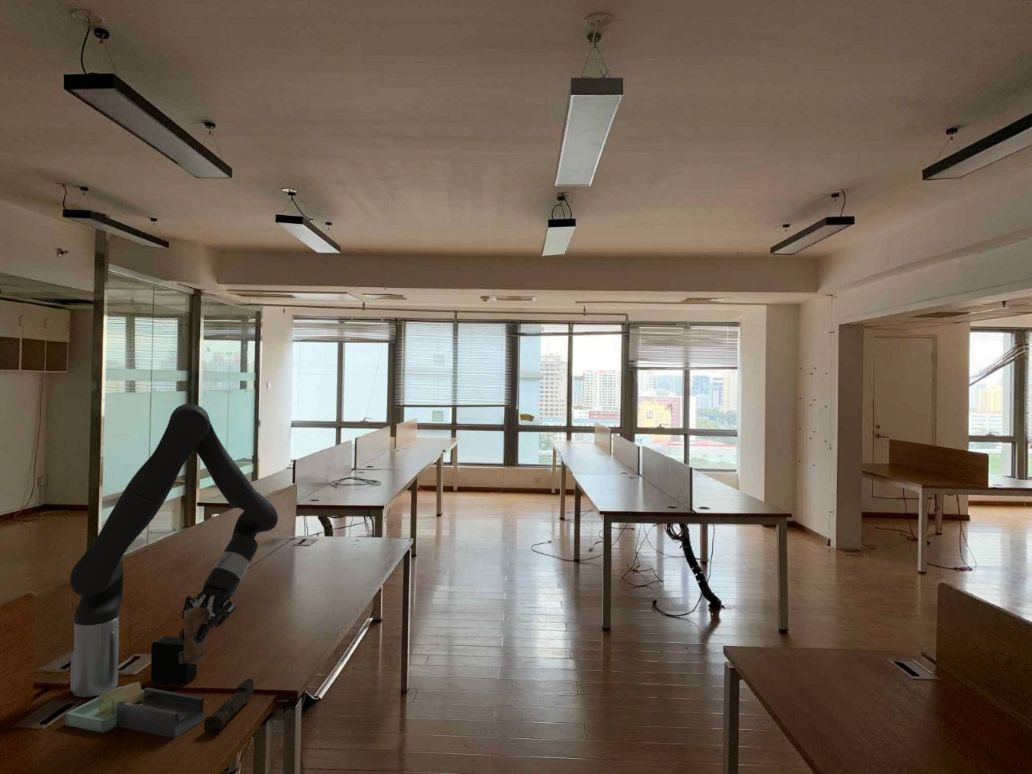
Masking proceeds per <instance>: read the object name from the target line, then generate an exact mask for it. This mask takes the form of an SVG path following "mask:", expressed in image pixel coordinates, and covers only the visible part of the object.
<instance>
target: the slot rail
mask: <svg viewBox="0 0 1032 774" xmlns="http://www.w3.org/2000/svg"><path fill="white" fill-rule="evenodd" d="M142 690H143V697H144V699H143V700H141V701H139V702H137V703H135V704H132V703H127V702H122V701H120V702H118V703H117V713H116V727H117V728H118V727H119V728H124V729H129V730H134V731H138V732H143V733H147V734H151V735H152V734H153V735H157V736H162V737H166V738H172V739H177V738H178V737H179V736H181V735H182V734H184V733H185V732H187V731H189V730H190V729H192V728H194V727H195V726H196V725H198V724H199V723H201V722H202V721H204V703H205V702H204V700H205V699H204V697H203V696H202V697H201V696H197V695H191V694H184V693H180V692H179V693H178V692H173V691H170V690H169V691H167V690H163V689H158V688H153V687H145V688H143V689H142Z"/></svg>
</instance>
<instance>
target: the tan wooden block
mask: <svg viewBox="0 0 1032 774" xmlns="http://www.w3.org/2000/svg"><path fill="white" fill-rule="evenodd" d="M206 612H207V608H202V607H193V608H191V609H189V610H186V611H184V620H183V627H184V651H182V652H180V653H179V663H180V664H182V663H190V664H197V665H198V664H200V663H202V662H203V661H205V660H207V659H208V634H207V635H206V637H205V639H204V640H203V641H202V642H201V643H196V642H195V641H194V640H193V638H194V636H195V635H196V633H197V631H198V630H199V628H200V626H201V624H202V625H203V621H204V618H205V617H206Z"/></svg>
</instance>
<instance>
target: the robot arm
mask: <svg viewBox="0 0 1032 774" xmlns="http://www.w3.org/2000/svg"><path fill="white" fill-rule="evenodd" d="M193 452H195V453H196V455H197V456H198V457H199V458H200V461H202V463H203V465H204V466H205V469H206V470H207V472H208V473H209V476H210V477H211V479H212V481H213V483H214V484H215V486H216V488H217V489H218V490H219V492H220V493H221V494H222V496H223V497H224V499H225V500H226V501H227V503H228V504H229V505H230V506H231V507H233V508H234V509H240V510H242V511H243V512H242V513H241V514H240V515H239V516H238V518H237V520H236V523H235V525H234V528H233V532H232V536H231V539H230V540H229V542H228V544H227V546H226V547H225V549H224V551H223V552H222V554H221V555H220V556H219V558H218V559H217V561H216V562H215V564H214V566H213V568H211V571H210V573H209V575H208V576H207V578H206V579H205V581H204V583H203V587H202V590H201V591H200V592H199V593H198V595H197V596H193V597H192V596H190V595H188V596H186V598H185V602H184V605H183V608H182V609H183V610H182V614H181V619H182V620H183V621H184V611H186V610H189V609H191V608H193V607H202V608H207V612H206V617H205V618H204V621H203V625H202V624H201V626H200V628H199V630H198V631H197V633H196V635H195V636H194V638H193V640H194V641H195V642H196V643H201V642H202V641H203V640H204V639H205V637H206V635H207V636H208V633H209V631H210V630H211V629H213V628H214V627H216V628H219V627H220V626H221V625H222V624H223V623H224V622H225V621H226V620H227V619H228V618H229V617H230V615H232V613H233V612H234V611H235V610H236V609H237V606H236V604H234V603H233V602H232V601H231V600H230V599H231V598H233V596H234V595H235V593H236V591H237V589H238V587H239V585H240V584H241V582H242V581H243V578H244V576H245V574H246V572H247V570H248V567H249V565H250V563H251V561H252V559H253V558H254V556H255V554H256V552H257V550H258V547H259V546H258V545H259V544H258V542H257V540H256V539H255V538H256V536H257V534H259V533H266V532H268V531H272V530H273V529H275V527H276V526H277V524H278V519H279V516H278V512H277V510H276V507H274V505H273V504H272V503H271V502H270V501H269V500H267V498H266V497H264V496H263V495H262V494H261V493H260V492H258V491H257V489H255V488H254V487H253V485H252V484H251V482H250V480H248V478H247V477H246V476H245V474H244V473H243V471H242V470H241V468H240V467H239V466H238V464H237V463H236V462H235V461H234V459H233V458H232V456H231V455H230V454H229V452H228V451H227V450H226V448H225V446H224V445H223V443H222V442H221V440H220V439H219V437H218V435H217V433H216V431H215V429H214V426H213V424H212V422H211V420H210V417H209V414H208V412H207V410H206V409H204V408H203V407H202V406H200V405H198V404H196V403H195V404H194V403H184V404H181V405H179V406H177V407H176V408H175V409H174V410H173V411H172V413H171V414H170V417H169V420H168V423H167V425H166V428H165V431H164V433H163V434H162V436H161V439H160V441H159V443H158V444H157V446H156V448H155V450H154V452H153V453H152V454H151V456H150V457H149V458H148V459H147V460H146V461H145V462H144V463H143V464H142V465H141V467H140V468H139V469H138V470H137V471H136V473H135V474H134V475H133V476H132V478H131V479H130V481H128V483H127V485H126V486H125V489H124V490H123V491H122V493H121V495H120V496H119V497H118V499H117V502H116V504H115V505H114V507H113V509H112V510H111V511H110V514H109V515H108V517H107V519H106V521H105V522H104V523H103V526H102V528H101V530H100V532H99V533H98V534H97V536H96V538H95V539H94V540H93V542H92V543H91V544H90V546H89V547H88V549H87V550H86V551H85V552H84V554H83V555H82V556H81V558H79V560H78V561H77V562H76V564H75V565H74V567H72V570H71V572H70V576H69V584H70V587H71V589H72V591H73V592H74V593H75V594H76V595H78V596H80V599H79V603H78V605H77V606H76V609H75V611H74V628H73V629H74V630H73V631H74V632H73V635H74V636H73V637H74V639H73V651H71V653H70V687H69V689H70V692H72V693H73V696H75V697H80V698H89V697H95V696H97V697H98V696H99V695H101V694H103V693H105V692H107V691H109V690H111V689H113V688H115V689H116V688H118V685H119V637H120V636H119V632H120V630H119V629H120V626H119V625H120V623H119V622H120V621H119V620H120V607H121V606H122V600H123V593H124V591H123V590H124V577H125V576H124V572H125V571H124V564H123V562H122V561H123V560H122V558H123V556H124V555H125V553H126V552H127V550H128V549H129V547H130V546H131V545H132V544H133V542H134V541H135V540H136V539H137V538H138V537H139V536H140V535H141V534H142V533H143V531H144V530H145V529H146V528H147V527H148V525H149V524H150V523H151V522H152V521H153V519H154V518H155V516H156V515H157V513H158V512H159V510H160V509H161V507H162V506H163V504H164V502H165V500H166V499H167V497H168V496H169V494H170V492H171V491H172V489H173V486H174V485H175V483H176V480H177V478H178V476H179V474H180V472H181V470H182V467H183V466H184V464H186V462H187V461H188V459H189V458H190V456H191V455H192V454H193ZM178 638H180V639H181V640H182V641H184V626H183V627H182V628H181V631H180V633H179V637H178Z"/></svg>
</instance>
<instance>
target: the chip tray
mask: <svg viewBox="0 0 1032 774" xmlns="http://www.w3.org/2000/svg"><path fill="white" fill-rule="evenodd" d="M124 686H125V685H120V686H117V687H116V688H115V689H120V688H122V687H124ZM142 693H143V689H142ZM64 715H65V716H64V717H65V722H64V723H65V726H70V727H75V728H79V729H83V730H88V731H93V732H97V733H103V734H105V733H106V732H108V731H110V730H113V729H114V728H116V727H117V726H116V713H115V714H113V715H111V716H107V715H102V714H98V697H96V698H94V699H92V700H89V701H88V702H86V703H84V704H82V705H79V706H78V707H76V708H74V709H71V710H70V711H67V712H66V713H65V714H64Z"/></svg>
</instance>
